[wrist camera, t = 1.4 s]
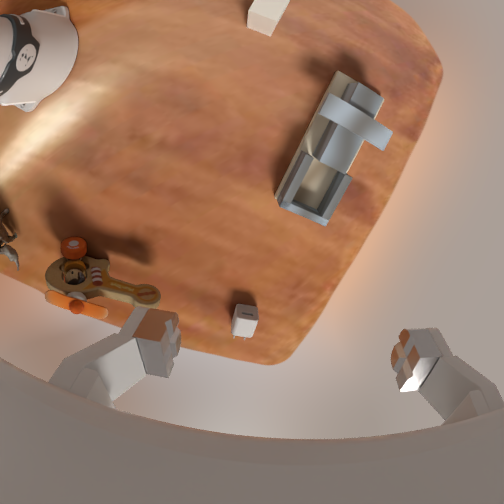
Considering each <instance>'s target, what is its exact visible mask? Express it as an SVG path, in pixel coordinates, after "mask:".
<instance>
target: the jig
mask: <svg viewBox="0 0 504 504" xmlns="http://www.w3.org/2000/svg"><path fill="white" fill-rule="evenodd" d="M383 102H384V98H382V97H381V96H379V95H378V94H376V93H375V92H373V91H372V90H370V89H369V88H367V87H366V86H364V85H363V84H361V83H359V82H357V81H355V80H354V79H352V78H350V77H349V76H347V75H345V74H343V73H342V72H340V71H336V72H335V74H334V76H333V78H332V80H331V82H330V84H329V86H328V88H327V90H326V92H325V94H324V96H323V98H322V100H321V102H320V104H319V106H318V108H317V110H316V112H315V114H314V116H313V118H312V120H311V122H310V124H309V126H308V128H307V130H306V132H305V134H304V136H303V138H302V140H301V142H300V144H299V146H298V148H297V151H296V153H295V155H294V157H293V159H292V161H291V163H290V165H289V167H288V169H287V171H286V173H285V175H284V177H283V179H282V181H281V183H280V185H279V187H278V189H277V191H276V193H275V195H274V197H275V199H277V201H278V204H279V207H281V208H284V209H286V210H289V211H291V212H293V213H296V214H298V215H300V216H303V217H305V218H307V219H310V220H312V221H314V222H317V223H319V224H321V225H323V226H326V225H327V223H328V221H329V219H330V218H331V216H332V214H333V212H334V211H335V209H336V207H337V205H338V203H339V202H340V200H341V198H342V196H343V194H344V193H345V191H346V189H347V187H348V185H349V183H350V182H351V180H352V177H350V176H349V175H348V174H347V172H348V170H349V168H350V167H351V165H352V163H353V161H354V159H355V157H356V155H357V153H358V151H359V149H360V147H361V145H362V144H363V142H364V140H366V141H368V142H369V143H371V144H372V145H374V146H376V147H377V148H379V149H380V150H382V151H384V149H385V147H386V145H387V143H388V141H389V139H390V137H391V135H392V133H393V132H392V131H391V130H389V129H388V128H386V127H385V126H383V125H382V124H380V123H379V122H377V121H376V120H375V118H376V116H377V114H378V112H379V110H380V108H381V106H382V104H383Z"/></svg>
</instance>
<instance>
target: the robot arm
mask: <svg viewBox="0 0 504 504" xmlns="http://www.w3.org/2000/svg"><path fill="white" fill-rule="evenodd" d="M56 12H57V13H56ZM55 13H56V14H55ZM77 51H78V35H77V31H76V29H75V27H74V26H73V24H72V23H71V21H70V19H69V10H68V8H67V7H65V6H59V7H55V8H51V9H47V10H43V11H42V10H36V9H34V10H32V11H31V12H27V13H24V14H22V15H20V16H17V15H15V14H2V15H0V104H2V105H3V106H7V105H15V106H16V107H18V108H20V109H22V110H23V111H25V112H31V111H33V110H34V109H35V108H36V106H37V105H38V104H39V102H40V101H41V100H42V99H44V98H45V97H47V96H49V95H50V94H52V93H53V92H54V91H55V90H57V89H58V88H59V87H60V86H61V84H62V83H63V82H64V81H65V79H66V78H67V76H68V75H69V73H70V71H71V69H72V67H73V65H74V62H75V59H76V56H77ZM25 103H26V104H25ZM178 323H179V318H178V314H177V313H176V312H170V311H164V310H159V309H153V308H146V307H141V306H138V307H136V308H135V309H134V310H133V312H132V313H131V315H130V316H129V318H128V320H127V321H126V323H125V324H124V326H123V327H122V329H121V330H120V332H119V334H115V333H114V334H112V335H110V336H108V337H107V338H104V339H102V340H100V341H99V342H97V343H95V344H93V345H91V346H89V347H87V348H85V349H83V350H81V351H79V352H77V353H75V354H73V355H71V356H69V357H67V358H65V359H64V360H63V361H62V363H61V364H60V365H59V367H58V368H57V370H56V371H55V373H54V374H53V376H52V377H51V379H50V380H49V382H46V381H44V380H42V379H39V378H37V377H35V376H33V375H31V374H29V373H28V372H25V371H24V370H22V369H20V368H18V367H16V366H14V365H13V364H11V363H9V362H7V361H5V360H4V359H2V358H0V504H504V402H503V400H502V397H501V395H500V393H499V391H498V389H497V387H496V385H495V384H494V383H492V382H491V381H490V380H488V379H487V378H486V377H484V376H483V375H482V374H480V373H479V372H478V371H476V370H475V369H474V368H472V367H471V366H469V365H468V364H467V363H465V362H464V361H463V360H461V359H460V358H459V357H457V356H453V355H452V352H451V351H450V349H449V347H448V345H447V343H446V341H445V340H444V338H443V336H442V334H441V333H440V331H439V329H437V328H426V329H403V330H402V332H401V333H400V335H399V339H400V342H399V343H397V344H396V345H395V346H394V348H393V351H392V354H391V364H392V368H393V370H394V371H395V372H397V373H398V374H397V377H396V381H397V384H398V387H399V390H400V391H414V390H419V392H420V394H421V395H422V396H423V397H424V398H425V399H426V400H427V401H428V402H429V403H430V405H431V406H432V407H433V408H434V409H435V410H436V411H437V412H438V413H439V414H440V415H441V417H442V418H443V419H444V420H445V422H444V423H443V424H442V425H441V426H436V427H432V428H427V429H422V430H416V431H410V432H404V433H397V434H390V435H381V436H372V437H360V438H344V439H280V438H263V437H252V436H242V435H234V434H226V433H219V432H212V431H206V430H200V429H195V428H189V427H184V426H179V425H174V424H170V423H166V422H161V421H157V420H153V419H149V418H146V417H142V416H138V415H135V414H131V413H128V412H125V411H121V410H118V409H116V407H115V405H114V403H113V401H114V400H115V399H116V398H117V397H119V396H120V395H121V394H123V393H124V392H125V391H127V390H128V389H129V388H131V387H132V386H133V385H134V384H136V383H137V382H138V381H140V380H141V379H142V378H143V377H145V376H146V374H150V375H155V376H160V377H166V378H169V376H170V373H171V370H172V368H173V365H174V362H173V358H174V357H175V356H177V355H178V352H179V350H180V344H181V332H180V330H179V329H178V328H177V325H178Z"/></svg>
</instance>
